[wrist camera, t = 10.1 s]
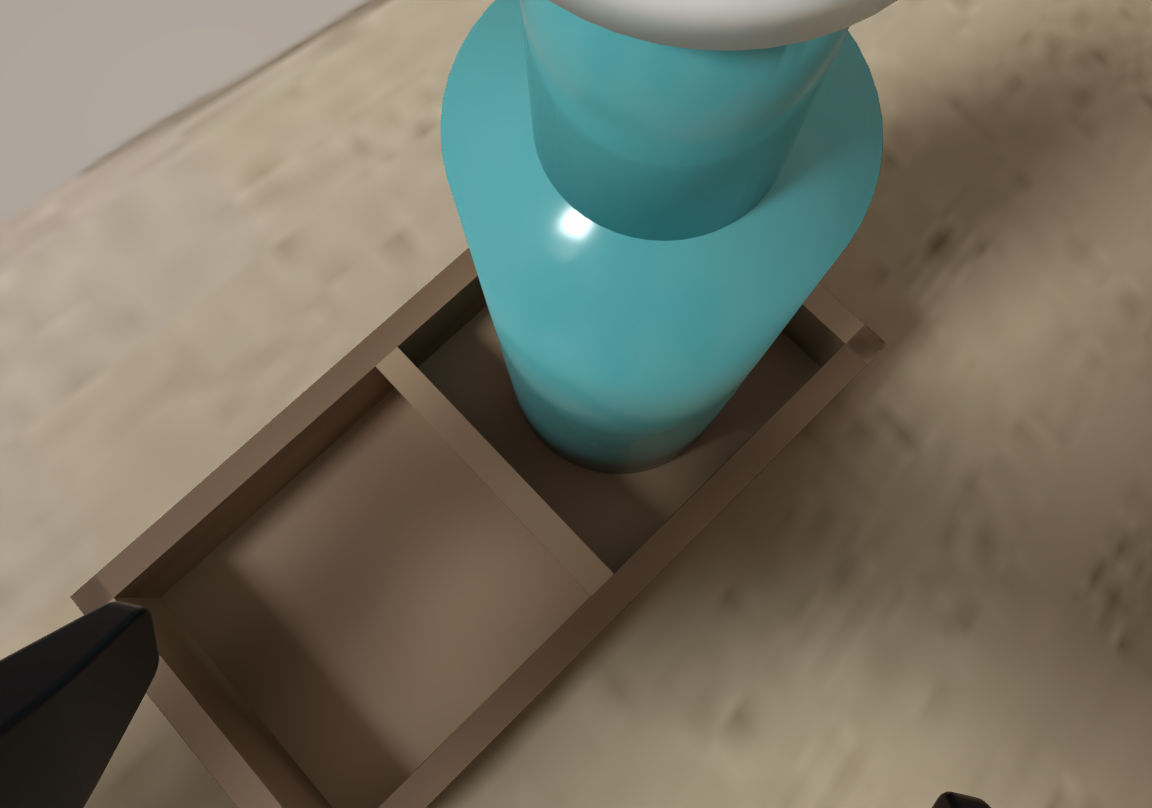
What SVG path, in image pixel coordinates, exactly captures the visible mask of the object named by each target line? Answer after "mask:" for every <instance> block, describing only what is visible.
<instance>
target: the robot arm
mask: <svg viewBox="0 0 1152 808" xmlns="http://www.w3.org/2000/svg"><path fill="white" fill-rule="evenodd" d="M158 664H159V650H158V645H157V639H156V633H155V628H154V622H153V617H152V613H151V612H150V611H149V610H148V609H147V608H146V607H143V606H139V605H134V604H130V603H125V602H121V601H114V602H110V603H107V604H105V605H102V606H101V607H99V608H97V609H95V610H93V611H91V612H89V613H88V614H86V615H84V616H82V617H80V618H78V619H76V620H74V621H73V622H71V623H69V624H67V625H65V626H63V627H61V628H60V629H58V630H56V631H54V632H52V633H50V634H48V635H47V636H45V637H43V638H41V639H39V640H37V641H35V642H33V643H32V644H30V645H28V646H26V647H24V648H22V649H20V650H19V651H17V652H15V653H13V654H11V655H9V656H7V657H5V658H4V659H2V660H0V808H83V807H84V806H85V804H86V802H87V801H88V799H89V797H90V795H91V794H92V792H93V790H94V788H95V787H96V785H97V783H98V781H99V779H100V777H101V776H102V774H103V772H104V770H105V768H106V766H107V764H108V763H109V761H110V759H111V757H112V755H113V753H114V751H115V749H116V748H117V746H118V744H119V742H120V740H121V738H122V736H123V734H124V733H125V731H126V729H127V727H128V725H129V723H130V721H131V720H132V718H133V716H134V714H135V712H136V710H137V708H138V706H139V705H140V703H141V701H142V699H143V697H144V695H145V693H146V691H147V690H148V688H149V686H150V684H151V682H152V680H153V678H154V676H155V674H156V671H157V668H158ZM932 808H991V807H990V806H989V805H988V804H987V803H986V802H984V801H983V800H981V799H979V798H976V797H972V796H968V795H963V794H959V793H955V792H945V793H943V794H941V795H940V796H939V797H938V799H937V800H936V802H935V804H934V805H933V807H932Z"/></svg>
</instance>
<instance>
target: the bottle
mask: <svg viewBox="0 0 1152 808" xmlns="http://www.w3.org/2000/svg"><path fill="white" fill-rule="evenodd" d="M895 1H897V0H495V1H494V2H493V3H492V4H491V5H490V6H489V7H488V8H487V10H486V11H485V12H484V13H483V15H482V16H481V17H480V19H479V20H478V21H477V22H476V24H475V25H474V26H473V28H472V29H471V31H470V32H469V34H468V36H467V38H466V39H465V41H464V43H463V44H462V46H461V48H460V50H459V52H458V54H457V56H456V59H455V61H454V64H453V66H452V69H451V71H450V74H449V77H448V81H447V85H446V89H445V93H444V97H443V105H442V115H441V146H442V155H443V160H444V165H445V170H446V175H447V179H448V182H449V185H450V189H451V192H452V195H453V198H454V201H455V204H456V208H457V211H458V214H459V217H460V220H461V223H462V227H463V230H464V233H465V236H466V239H467V242H468V246H469V249H470V252H471V255H472V258H473V261H474V265H475V268H476V271H477V274H478V277H479V280H480V284H481V287H482V290H483V293H484V296H485V299H486V303H487V306H488V309H489V312H490V315H491V318H492V322H493V325H494V328H495V331H496V334H497V337H498V341H499V344H500V347H501V350H502V353H503V356H504V360H505V363H506V366H507V369H508V372H509V375H510V379H511V382H512V385H513V388H514V391H515V394H516V398H517V401H518V403H519V406H520V409H521V412H522V414H523V415H524V417H525V419H526V421H527V423H528V425H529V426H530V428H531V429H532V430H533V432H534V433H535V435H536V436H537V437H538V438H539V439H540V440H541V441H542V442H543V443H544V444H545V445H546V446H547V447H548V448H549V449H550V450H552V451H553V452H554V453H555V454H557V455H558V456H560V457H562V458H563V459H565V460H566V461H568V462H570V463H572V464H575V465H577V466H579V467H582V468H585V469H588V470H591V471H595V472H600V473H606V474H632V473H639V472H644V471H648V470H651V469H654V468H657V467H660V466H663V465H664V464H666V463H668V462H670V461H672V460H674V459H676V458H677V457H679V456H680V455H682V454H683V453H684V452H686V451H687V450H688V449H689V448H690V447H691V446H693V445H694V444H695V443H696V442H697V441H698V439H699V438H700V437H701V436H702V435H703V433H704V432H705V431H706V430H707V428H708V427H709V426H710V424H711V423H712V422H713V420H714V419H715V418H716V417H717V415H718V414H719V413H720V411H721V410H722V409H723V407H724V406H725V405H726V403H727V402H728V401H729V400H730V398H731V397H732V396H733V394H734V393H735V392H736V390H737V389H738V388H739V386H740V385H741V384H742V383H743V381H744V380H745V379H746V377H747V376H748V375H749V373H750V372H751V371H752V369H753V368H754V367H755V366H756V364H757V363H758V362H759V360H760V359H761V358H762V356H763V355H764V354H765V352H766V351H767V350H768V349H769V347H770V346H771V345H772V343H773V342H774V341H775V339H776V338H777V337H778V335H779V334H780V333H781V332H782V330H783V329H784V328H785V326H786V325H787V324H788V322H789V321H790V320H791V318H792V317H793V316H794V315H795V313H796V312H797V311H798V309H799V308H800V307H801V305H802V304H803V303H804V301H805V300H806V299H807V298H808V296H809V295H810V294H811V292H812V291H813V290H814V288H815V287H816V286H817V284H818V283H819V282H820V281H821V279H822V278H823V277H824V275H825V274H826V273H827V271H828V270H829V269H830V267H831V266H832V265H833V264H834V262H835V261H836V260H837V258H838V257H839V256H840V254H841V253H842V252H843V250H844V249H845V248H846V247H847V245H848V244H849V242H850V241H851V239H852V237H853V236H854V234H855V233H856V231H857V229H858V228H859V226H860V224H861V223H862V221H863V219H864V217H865V215H866V212H867V210H868V208H869V205H870V203H871V201H872V198H873V196H874V192H875V188H876V185H877V181H878V177H879V173H880V168H881V159H882V150H883V128H882V115H881V110H880V104H879V99H878V93H877V90H876V87H875V84H874V81H873V78H872V75H871V72H870V69H869V67H868V65H867V63H866V61H865V59H864V57H863V55H862V53H861V51H860V49H859V47H858V45H857V43H856V42H855V40H854V39H853V37H852V36H851V35H850V33H849V32H848V29H849V26H851V25H853V24H855V23H858V22H860V21H862V20H864V19H866V18H868V17H871V16H873V15H875V14H876V13H878V12H880V11H881V10H883V9H884V8H886V7H888V6H889V5H891V4H892V3H894V2H895Z"/></svg>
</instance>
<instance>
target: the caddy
mask: <svg viewBox="0 0 1152 808" xmlns="http://www.w3.org/2000/svg"><path fill="white" fill-rule="evenodd" d="M886 345H887V344H886V343H885V342H884V341H883V340H882V339H881V338H879V337H878V336H877V335H876V334H875V333H874V332H873V331H872V330H871V329H870V328H868V327H867V326H866V325H865V324H864V323H863V322H862V321H861V320H860V319H859V318H857V317H856V316H855V315H854V314H853V313H852V312H851V311H850V310H849V309H847V308H846V307H845V306H844V305H843V304H842V303H841V302H840V301H839V300H838V299H836V298H835V297H834V296H833V295H832V294H831V293H830V292H829V291H828V290H827V289H825V288H824V287H823V286H822V285H821V284H820V283H818V284H817V286H816V287H815V288H814V290H813V291H812V292H811V294H810V295H809V296H808V298H807V299H806V300H805V301H804V303H803V304H802V305H801V307H800V308H799V309H798V311H797V312H796V313H795V315H794V316H793V317H792V318H791V320H790V321H789V322H788V324H787V325H786V326H785V328H784V329H783V330H782V332H781V333H780V334H779V335H778V337H777V338H776V339H775V341H774V342H773V343H772V345H771V346H770V347H769V349H768V350H767V351H766V352H765V354H764V355H763V356H762V358H761V359H760V360H759V362H758V363H757V364H756V366H755V367H754V368H753V369H752V371H751V372H750V373H749V375H748V376H747V377H746V379H745V380H744V381H743V383H742V384H741V385H740V386H739V388H738V389H737V390H736V392H735V393H734V394H733V396H732V397H731V398H730V400H729V401H728V402H727V403H726V405H725V406H724V407H723V409H722V410H721V411H720V413H719V414H718V415H717V417H716V418H715V419H714V420H713V422H712V423H711V424H710V426H709V427H708V428H707V430H706V431H705V432H704V433H703V435H702V436H701V437H700V438H699V439H698V441H697V442H696V443H695V444H694V445H693V446H691V447H690V448H689V449H688V450H687V451H686V452H684V453H683V454H682V455H680V456H679V457H677V458H676V459H674V460H672V461H670V462H668V463H666V464H664V465H663V466H660V467H657V468H654V469H651V470H648V471H644V472H639V473H632V474H606V473H600V472H595V471H591V470H588V469H585V468H582V467H579V466H577V465H575V464H572V463H570V462H568V461H566V460H565V459H563V458H562V457H560V456H558V455H557V454H555V453H554V452H553V451H552V450H550V449H549V448H548V447H547V446H546V445H545V444H544V443H543V442H542V441H541V440H540V439H539V438H538V437H537V436H536V435H535V433H534V432H533V430H532V429H531V428H530V426H529V425H528V423H527V421H526V419H525V417H524V415H523V414H522V412H521V409H520V406H519V403H518V401H517V398H516V394H515V391H514V388H513V385H512V382H511V379H510V375H509V372H508V369H507V366H506V363H505V360H504V356H503V353H502V350H501V347H500V344H499V341H498V337H497V334H496V331H495V328H494V325H493V322H492V318H491V315H490V312H489V309H488V306H487V303H486V299H485V296H484V293H483V290H482V287H481V284H480V280H479V277H478V274H477V271H476V268H475V265H474V261H473V258H472V255H471V252H470V249H469V248H468V249H467V250H466V251H465V252H463V253H462V254H461V255H460V256H459V257H458V258H457V259H455V260H454V261H453V262H452V263H451V264H450V265H449V266H447V267H446V268H445V269H444V270H443V271H442V272H441V273H439V274H438V275H437V276H436V277H435V278H434V279H433V280H431V281H430V282H429V283H428V284H427V285H426V286H425V287H423V288H422V289H421V290H420V291H419V292H418V293H417V294H415V295H414V296H413V297H412V298H411V299H410V300H409V301H407V302H406V303H405V304H404V305H403V306H402V307H401V308H399V309H398V310H397V311H396V312H395V313H394V314H393V315H391V316H390V317H389V318H388V319H387V320H386V321H385V322H384V323H382V324H381V325H380V326H379V327H378V328H377V329H376V330H374V331H373V332H372V333H371V334H370V335H369V336H368V337H366V338H365V339H364V340H363V341H362V342H361V343H360V344H358V345H357V346H356V347H355V348H354V349H353V350H352V351H350V352H349V353H348V354H347V355H346V356H345V357H344V358H342V359H341V360H340V361H339V362H338V363H337V364H336V365H334V366H333V367H332V368H331V369H330V370H329V371H328V372H326V373H325V374H324V375H323V376H322V377H321V378H320V379H318V380H317V381H316V382H315V383H314V384H313V385H312V386H310V387H309V388H308V389H307V390H306V391H305V392H304V393H302V394H301V395H300V396H299V397H298V398H297V399H296V400H294V401H293V402H292V403H291V404H290V405H289V406H288V407H286V408H285V409H284V410H283V411H282V412H281V413H280V414H278V415H277V416H276V417H275V418H274V419H273V420H272V421H270V422H269V423H268V424H267V425H266V426H265V427H264V428H262V429H261V430H260V431H259V432H258V433H257V434H256V435H254V436H253V437H252V438H251V439H250V440H249V441H248V442H247V443H245V444H244V445H243V446H242V447H241V448H240V449H239V450H237V451H236V452H235V453H234V454H233V455H232V456H231V457H229V458H228V459H227V460H226V461H225V462H224V463H223V464H221V465H220V466H219V467H218V468H217V469H216V470H215V471H213V472H212V473H211V474H210V475H209V476H208V477H207V478H205V479H204V480H203V481H202V482H201V483H200V484H199V485H197V486H196V487H195V488H194V489H193V490H192V491H191V492H189V493H188V494H187V495H186V496H185V497H184V498H183V499H181V500H180V501H179V502H178V503H177V504H176V505H175V506H173V507H172V508H171V509H170V510H169V511H168V512H167V513H165V514H164V515H163V516H162V517H161V518H160V519H159V520H157V521H156V522H155V523H154V524H153V525H152V526H151V527H149V528H148V529H147V530H146V531H145V532H144V533H143V534H141V535H140V536H139V537H138V538H137V539H136V540H135V541H133V542H132V543H131V544H130V545H129V546H128V547H127V548H125V549H124V550H123V551H122V552H121V553H120V554H119V555H117V556H116V557H115V558H114V559H113V560H112V561H111V562H109V563H108V564H107V565H106V566H105V567H104V568H103V569H102V570H100V571H99V572H98V573H97V574H96V575H95V576H94V577H92V578H91V579H90V580H89V581H88V582H87V583H86V584H84V585H83V586H82V587H81V588H80V589H79V590H78V591H76V592H75V593H74V594H73V595H72V596H71V599H72V600H73V601H74V602H75V604H76V605H77V606H78V607H79V609H80V610H81V611H82V612H83V614H84V615H86V614H88V613H89V612H91V611H93V610H95V609H97V608H99V607H101V606H102V605H105V604H107V603H110V602H114V601H121V602H125V603H130V604H134V605H139V606H143V607H146V608H147V609H148V610H149V611H150V612H151V613H152V617H153V622H154V628H155V633H156V639H157V645H158V650H159V664H158V668H157V671H156V674H155V676H154V678H153V680H152V682H151V684H150V686H149V688H148V690H147V691H146V693H147V694H148V696H149V697H150V698H151V699H152V701H153V702H154V703H155V704H156V706H157V707H158V708H159V710H160V711H161V712H162V713H163V715H164V716H165V717H166V718H167V720H168V721H169V722H170V723H171V725H172V726H173V727H174V728H175V730H176V731H177V732H178V733H179V735H180V736H181V737H182V739H183V740H184V741H185V742H186V744H187V745H188V746H189V747H190V749H191V750H192V751H193V752H194V754H195V755H196V756H197V757H198V759H199V760H200V761H201V762H202V764H203V765H204V766H205V768H206V769H207V770H208V771H209V773H210V774H211V775H212V776H213V778H214V779H215V780H216V781H217V783H218V784H219V785H220V786H221V788H222V789H223V790H224V791H225V793H226V794H227V795H228V797H229V798H230V799H231V800H232V802H233V803H234V804H235V805H236V807H237V808H426V807H427V806H428V805H429V804H430V803H431V802H432V801H433V800H434V799H435V798H436V797H437V796H438V795H439V794H440V793H441V792H442V791H443V790H444V789H445V788H446V787H447V786H448V785H449V784H450V783H451V782H452V781H453V780H454V779H455V778H456V777H457V776H458V775H459V774H460V773H461V772H462V771H463V770H464V769H465V768H466V767H467V766H468V765H469V764H470V763H471V762H472V761H473V760H474V759H475V758H476V757H477V756H478V755H479V754H480V753H481V752H482V751H483V750H484V749H485V748H486V747H487V746H488V745H489V744H490V743H491V742H492V741H493V740H494V739H495V738H496V737H497V736H498V735H499V734H500V733H501V732H502V731H503V730H504V729H505V728H506V727H507V726H508V725H509V723H510V722H511V721H512V720H513V719H514V718H515V717H516V716H517V715H518V714H519V713H520V712H521V711H522V710H523V709H524V708H525V707H526V706H527V705H528V704H529V703H530V702H531V701H532V700H533V699H534V698H535V697H536V696H537V695H538V694H539V693H540V692H541V691H542V690H543V689H544V688H545V687H546V686H547V685H548V684H549V683H550V682H551V681H552V680H553V679H554V678H555V677H556V676H557V675H558V674H559V673H560V672H561V671H562V670H563V669H564V668H565V667H566V666H567V665H568V664H569V663H570V662H571V661H572V660H573V659H574V658H575V657H576V656H577V655H578V654H579V653H580V652H581V651H582V650H583V649H584V648H585V647H586V646H587V645H588V644H589V643H590V642H591V641H592V640H593V639H594V638H595V637H596V636H597V635H598V634H599V633H600V632H601V631H602V630H603V629H604V628H605V627H606V626H607V625H608V624H609V623H610V622H611V621H612V620H613V619H614V618H615V617H616V616H617V615H618V614H619V613H620V612H621V611H622V610H623V609H624V608H625V607H626V606H627V605H628V604H629V603H630V602H631V601H632V600H633V599H634V598H635V597H636V596H637V595H638V594H639V593H640V592H641V591H642V590H643V589H644V588H645V587H646V586H647V585H648V584H649V583H650V582H651V581H652V580H653V579H654V578H655V577H656V576H657V575H658V574H659V573H660V572H661V571H662V570H663V569H664V568H665V567H666V566H667V565H668V564H669V563H670V562H671V561H672V560H673V559H674V558H675V557H676V556H677V555H678V554H679V553H680V552H681V551H682V550H683V549H684V548H685V547H686V546H687V545H688V544H689V543H690V542H691V541H692V540H693V539H694V538H695V537H696V536H697V535H698V534H699V533H700V532H701V531H702V530H703V529H704V528H705V527H706V526H707V525H708V524H709V523H710V522H711V521H712V520H713V519H714V518H715V517H716V516H717V515H718V514H719V513H720V512H721V511H722V510H723V509H724V508H725V507H726V506H727V505H728V504H729V503H730V502H731V501H732V500H733V499H734V498H735V497H736V496H737V495H738V494H739V493H740V492H741V491H742V490H743V489H744V488H745V486H746V485H747V484H748V483H749V482H750V481H751V480H752V479H753V478H754V477H755V476H756V475H757V474H758V473H759V472H760V471H761V470H762V469H763V468H764V467H765V466H766V465H767V464H768V463H769V462H770V461H771V460H772V459H773V458H774V457H775V456H776V455H777V454H778V453H779V452H780V451H781V450H782V449H783V448H784V447H785V446H786V445H787V444H788V443H789V442H790V441H791V440H792V439H793V438H794V437H795V436H796V435H797V434H798V433H799V432H800V431H801V430H802V429H803V428H804V427H805V426H806V425H807V424H808V423H809V422H810V421H811V420H812V419H813V418H814V417H815V416H816V415H817V414H818V413H819V412H820V411H821V410H822V409H823V408H824V407H825V406H826V405H827V404H828V403H829V402H830V401H831V400H832V399H833V398H834V397H835V396H836V395H837V394H838V393H839V392H840V391H841V390H842V389H843V388H844V387H845V386H846V385H847V384H848V383H849V382H850V381H851V380H852V379H853V378H854V377H855V376H856V375H857V374H858V373H859V372H860V371H861V370H862V369H863V368H864V367H865V366H866V365H867V364H868V363H869V362H870V361H871V360H872V359H873V358H874V357H875V356H876V355H877V354H878V353H879V352H880V351H881V350H882V349H883V348H884V347H885V346H886Z"/></svg>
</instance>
